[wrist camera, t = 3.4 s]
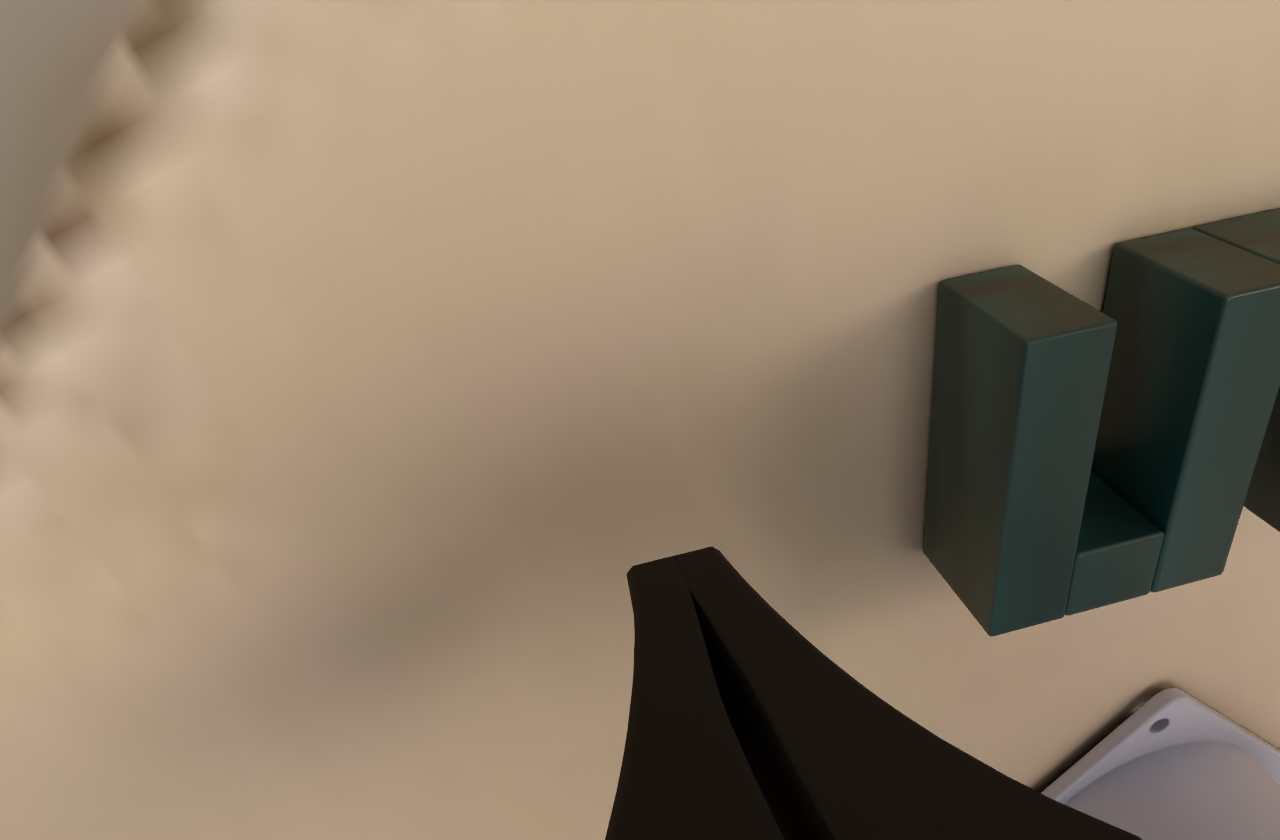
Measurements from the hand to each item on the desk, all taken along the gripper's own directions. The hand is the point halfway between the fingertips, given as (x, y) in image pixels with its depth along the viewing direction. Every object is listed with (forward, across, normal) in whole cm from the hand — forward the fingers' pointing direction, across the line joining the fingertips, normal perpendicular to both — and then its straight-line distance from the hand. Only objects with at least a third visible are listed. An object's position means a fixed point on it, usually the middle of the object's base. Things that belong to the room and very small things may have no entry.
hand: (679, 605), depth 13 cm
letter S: (+3, -10, 0) cm, 10 cm away
